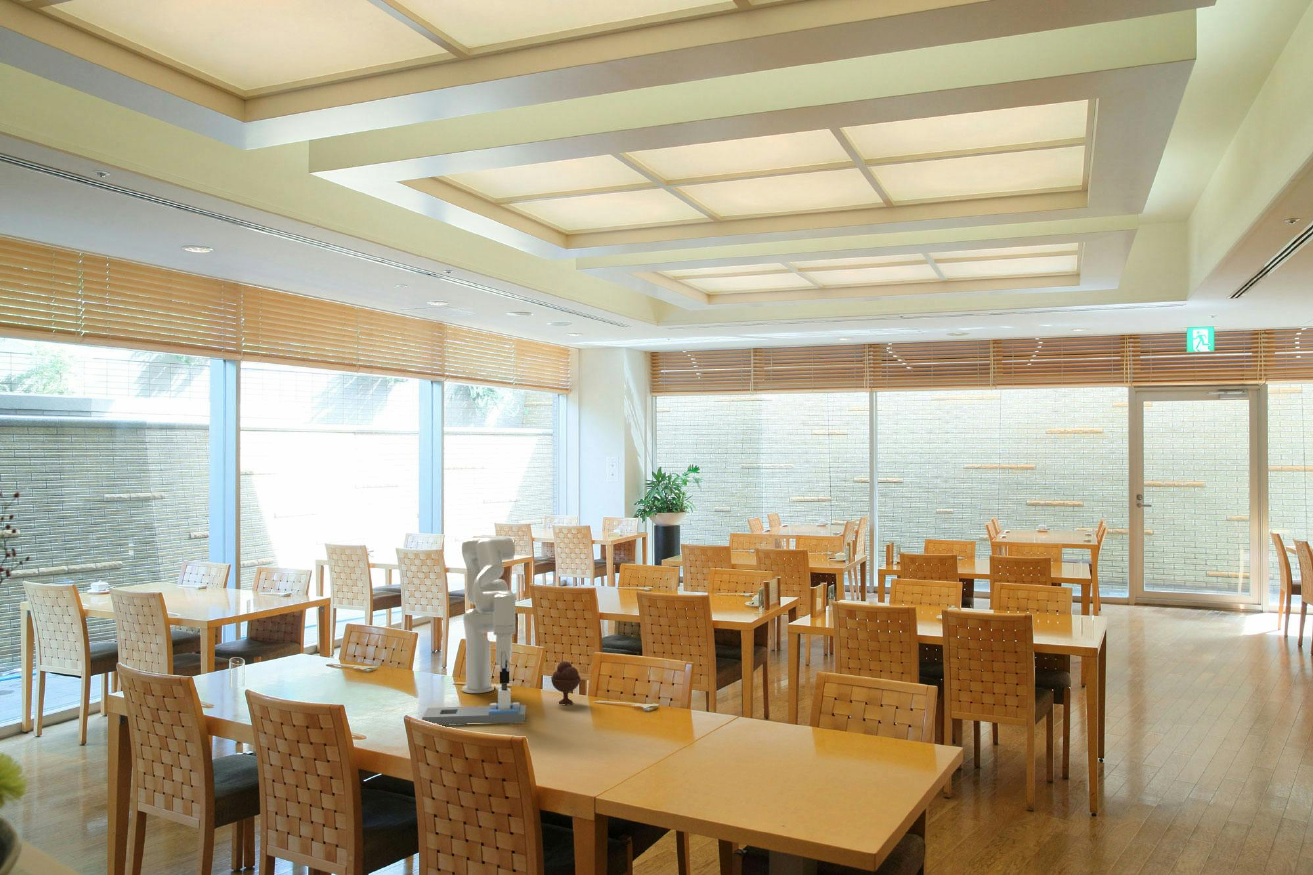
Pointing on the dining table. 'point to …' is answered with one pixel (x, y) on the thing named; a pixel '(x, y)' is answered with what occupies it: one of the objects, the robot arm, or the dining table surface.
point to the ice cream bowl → (565, 680)
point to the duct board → (475, 714)
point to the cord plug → (504, 697)
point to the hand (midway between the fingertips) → (504, 682)
